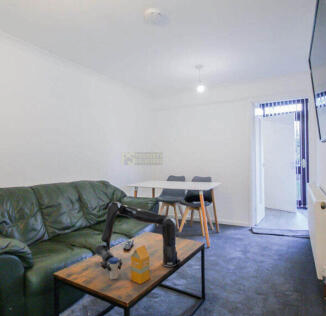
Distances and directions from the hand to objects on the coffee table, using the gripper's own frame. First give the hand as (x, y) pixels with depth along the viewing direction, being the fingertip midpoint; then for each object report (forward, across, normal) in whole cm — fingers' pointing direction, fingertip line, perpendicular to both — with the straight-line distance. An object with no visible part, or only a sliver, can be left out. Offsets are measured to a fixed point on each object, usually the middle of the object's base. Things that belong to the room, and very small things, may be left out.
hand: (115, 268), depth 149 cm
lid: (-3, 0, -5) cm, 5 cm away
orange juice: (+4, +15, +8) cm, 17 cm away
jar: (-3, 0, +6) cm, 7 cm away
